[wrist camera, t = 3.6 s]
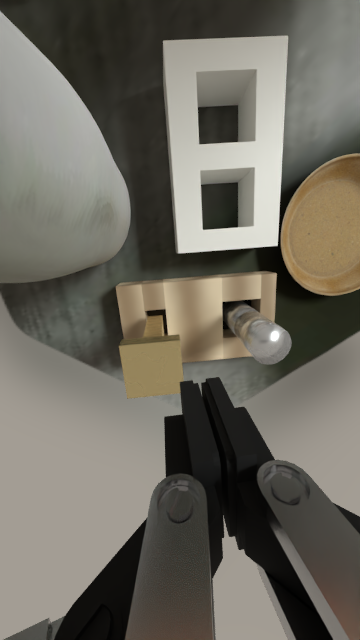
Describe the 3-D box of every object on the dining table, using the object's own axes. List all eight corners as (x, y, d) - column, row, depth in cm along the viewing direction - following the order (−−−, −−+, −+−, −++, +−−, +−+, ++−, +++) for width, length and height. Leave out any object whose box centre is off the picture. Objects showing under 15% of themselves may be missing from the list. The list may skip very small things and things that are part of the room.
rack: (262, 79, 23) (288, 35, 18) (258, 246, 28) (277, 245, 23) (163, 83, 23) (163, 40, 18) (175, 252, 28) (178, 253, 23)
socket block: (265, 270, 29) (276, 273, 26) (262, 344, 32) (272, 354, 29) (120, 282, 28) (115, 286, 25) (131, 357, 31) (128, 368, 28)
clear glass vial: (247, 297, 30) (292, 324, 19) (247, 323, 31) (289, 362, 20) (220, 300, 30) (251, 328, 19) (221, 326, 31) (250, 366, 20)
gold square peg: (174, 308, 25) (180, 340, 17) (177, 345, 27) (184, 392, 18) (134, 312, 25) (118, 346, 17) (139, 349, 27) (127, 398, 18)
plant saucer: (401, 253, 30) (423, 254, 27) (297, 312, 31) (309, 317, 29) (369, 134, 26) (391, 121, 23) (250, 208, 27) (259, 204, 24)
